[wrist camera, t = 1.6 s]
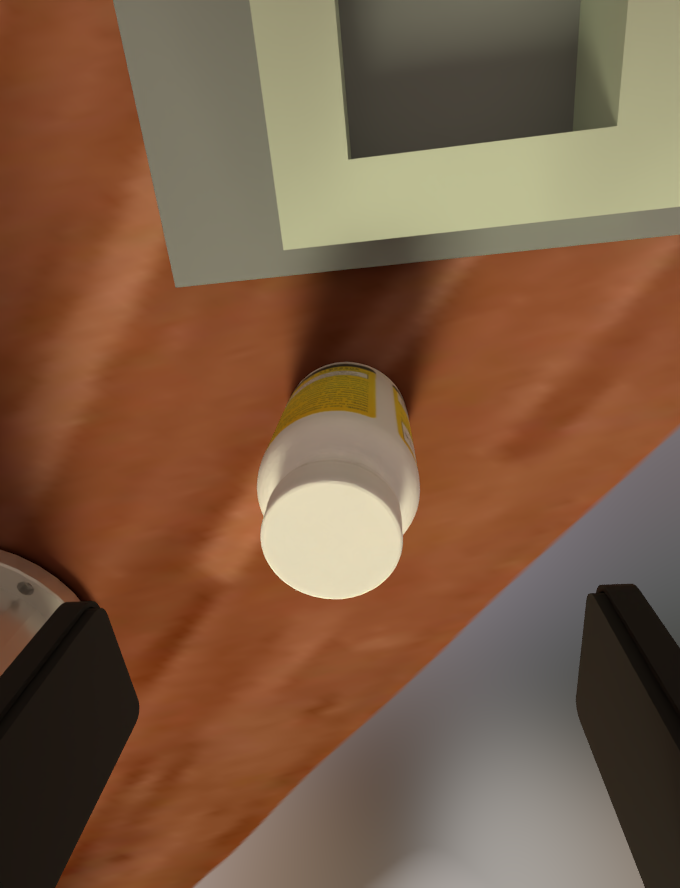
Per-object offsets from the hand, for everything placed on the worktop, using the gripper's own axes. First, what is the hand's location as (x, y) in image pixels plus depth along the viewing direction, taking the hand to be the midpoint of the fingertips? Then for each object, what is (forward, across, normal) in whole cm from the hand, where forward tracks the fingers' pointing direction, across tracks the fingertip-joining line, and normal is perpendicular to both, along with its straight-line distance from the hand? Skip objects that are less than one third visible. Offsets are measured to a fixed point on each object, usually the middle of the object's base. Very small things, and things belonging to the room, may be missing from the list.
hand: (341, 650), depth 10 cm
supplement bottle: (+14, +1, 0) cm, 14 cm away
